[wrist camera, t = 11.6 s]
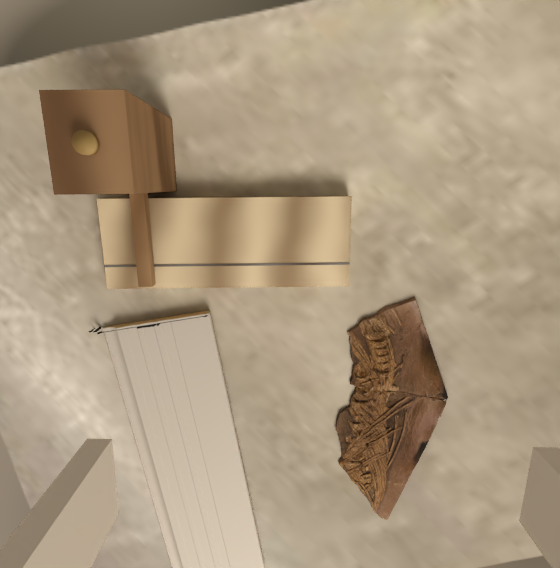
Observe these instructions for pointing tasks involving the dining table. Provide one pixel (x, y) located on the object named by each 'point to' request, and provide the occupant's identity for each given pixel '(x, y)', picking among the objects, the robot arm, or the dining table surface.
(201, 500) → the baseboard molding
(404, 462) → the wooden fragment
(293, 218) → the board
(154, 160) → the block
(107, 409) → the dining table surface
